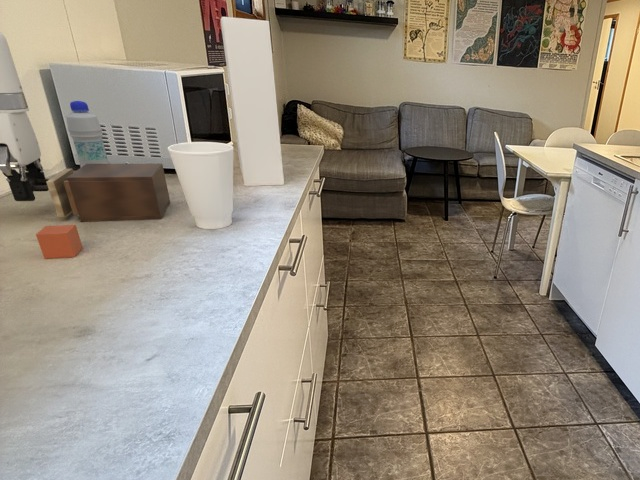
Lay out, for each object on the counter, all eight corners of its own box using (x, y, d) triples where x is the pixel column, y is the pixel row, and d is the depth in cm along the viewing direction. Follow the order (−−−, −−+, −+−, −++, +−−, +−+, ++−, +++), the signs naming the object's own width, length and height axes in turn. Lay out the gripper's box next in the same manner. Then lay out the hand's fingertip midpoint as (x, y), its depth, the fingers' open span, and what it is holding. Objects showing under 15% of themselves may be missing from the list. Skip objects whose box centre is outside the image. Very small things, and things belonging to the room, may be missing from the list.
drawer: (19, 218, 93) (5, 182, 90) (41, 202, 103) (30, 168, 99) (134, 214, 100) (126, 180, 97) (145, 200, 109) (138, 168, 106)
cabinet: (80, 221, 97) (66, 177, 92) (97, 204, 107) (86, 163, 103) (161, 219, 101) (151, 176, 97) (170, 202, 112) (162, 163, 108)
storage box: (284, 184, 133) (269, 20, 114) (244, 186, 129) (221, 16, 110) (275, 168, 149) (261, 23, 131) (240, 169, 145) (220, 19, 127)
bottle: (119, 181, 124) (98, 100, 115) (112, 188, 119) (89, 102, 109) (89, 181, 122) (65, 98, 113) (80, 188, 117) (54, 101, 107)
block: (44, 258, 80) (35, 234, 78) (53, 249, 84) (45, 225, 82) (75, 257, 82) (67, 233, 80) (83, 247, 85) (75, 224, 83)
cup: (224, 212, 108) (212, 139, 101) (255, 224, 103) (245, 148, 95) (171, 223, 100) (155, 145, 92) (202, 237, 94) (187, 155, 86)
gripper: (-3, 97, 95) (27, 185, 103) (-50, 107, 81) (-10, 208, 89) (42, 98, 97) (69, 184, 106) (5, 108, 83) (38, 207, 91)
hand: (32, 195), depth 97 cm, fingers closed on drawer, 6 cm apart
